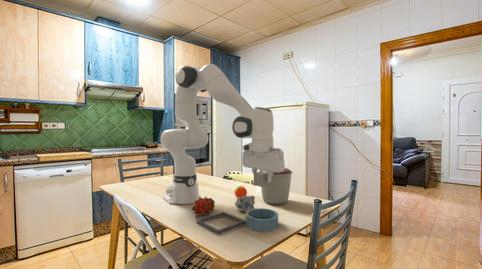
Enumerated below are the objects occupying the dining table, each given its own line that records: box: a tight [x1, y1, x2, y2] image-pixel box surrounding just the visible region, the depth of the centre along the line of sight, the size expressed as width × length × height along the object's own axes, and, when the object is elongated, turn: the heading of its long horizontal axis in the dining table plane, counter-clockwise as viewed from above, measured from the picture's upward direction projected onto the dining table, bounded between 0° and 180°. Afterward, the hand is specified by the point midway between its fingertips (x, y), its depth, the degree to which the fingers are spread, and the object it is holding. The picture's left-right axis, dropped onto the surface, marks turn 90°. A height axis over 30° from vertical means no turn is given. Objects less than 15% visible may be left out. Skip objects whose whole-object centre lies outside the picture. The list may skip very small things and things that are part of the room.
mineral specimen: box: [234, 195, 256, 213], centre depth 118 cm, size 10×8×10 cm
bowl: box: [245, 207, 279, 232], centre depth 100 cm, size 13×13×4 cm
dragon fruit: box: [191, 196, 216, 217], centre depth 111 cm, size 8×8×12 cm
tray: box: [196, 211, 246, 236], centre depth 100 cm, size 14×14×2 cm
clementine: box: [234, 185, 248, 199], centre depth 135 cm, size 8×7×7 cm
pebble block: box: [253, 171, 271, 188], centre depth 99 cm, size 5×5×5 cm
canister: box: [258, 167, 294, 206], centre depth 130 cm, size 18×18×21 cm
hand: (262, 180), depth 99 cm, fingers closed on pebble block, 5 cm apart
